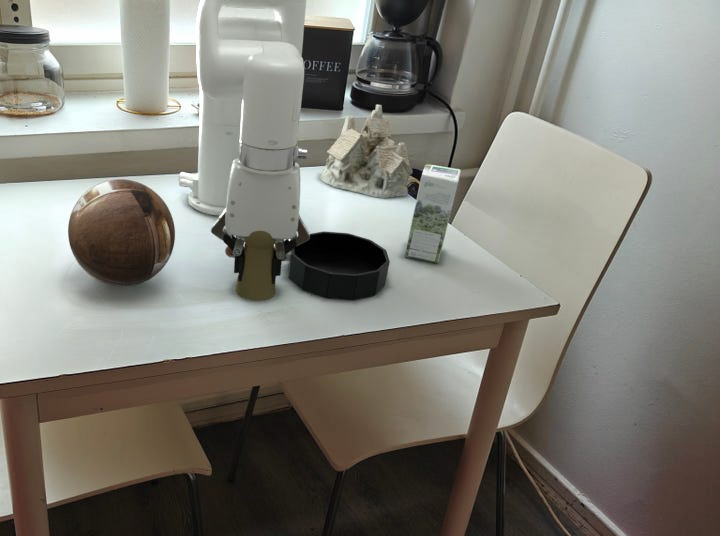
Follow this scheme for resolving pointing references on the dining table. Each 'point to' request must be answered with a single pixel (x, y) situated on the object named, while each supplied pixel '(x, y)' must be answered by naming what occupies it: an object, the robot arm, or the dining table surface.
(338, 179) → the ceramic cottage
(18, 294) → the dining table surface
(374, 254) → the frying pan
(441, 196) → the syrup box
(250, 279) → the olive game pawn
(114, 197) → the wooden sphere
